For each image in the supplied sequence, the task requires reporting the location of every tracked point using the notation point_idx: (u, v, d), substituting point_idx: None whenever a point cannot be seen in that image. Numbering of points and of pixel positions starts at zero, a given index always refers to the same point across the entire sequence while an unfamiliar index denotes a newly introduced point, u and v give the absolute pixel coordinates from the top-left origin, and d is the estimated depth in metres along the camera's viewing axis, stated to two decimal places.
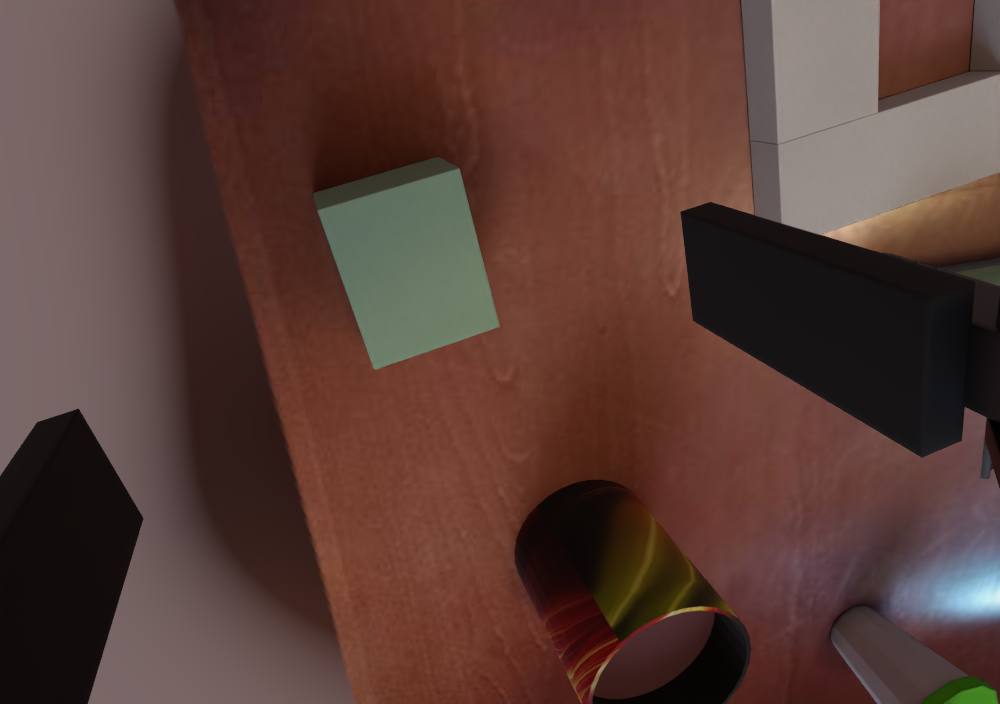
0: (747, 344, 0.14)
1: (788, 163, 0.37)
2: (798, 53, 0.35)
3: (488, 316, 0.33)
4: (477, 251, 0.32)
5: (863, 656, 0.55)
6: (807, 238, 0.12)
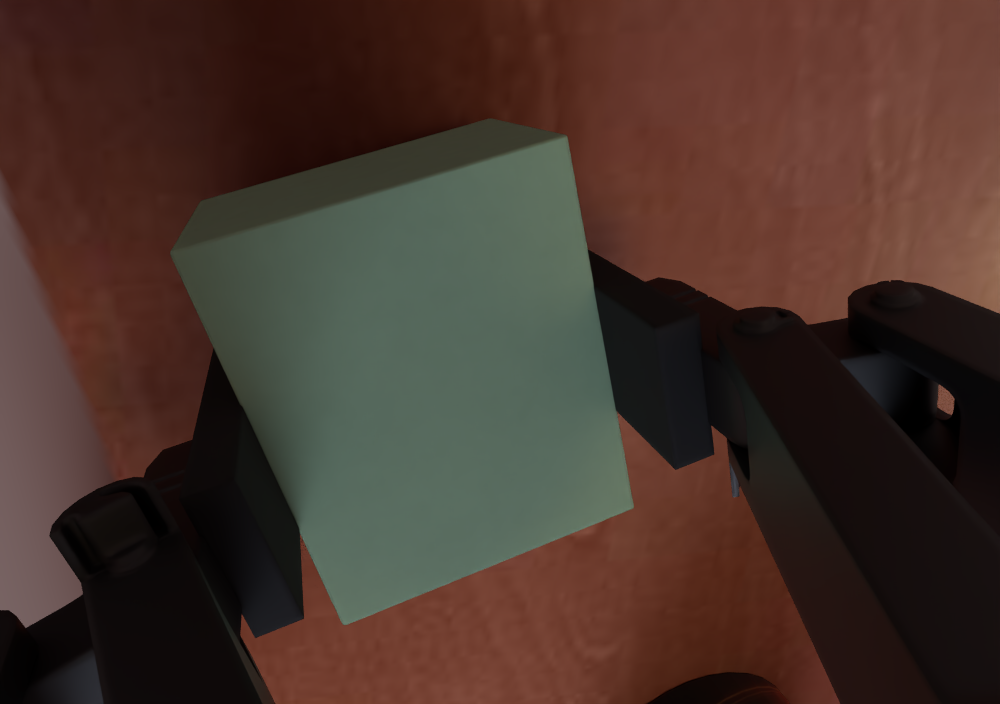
0: None
1: None
2: None
3: (611, 489, 0.14)
4: (598, 346, 0.13)
5: None
6: (601, 266, 0.13)
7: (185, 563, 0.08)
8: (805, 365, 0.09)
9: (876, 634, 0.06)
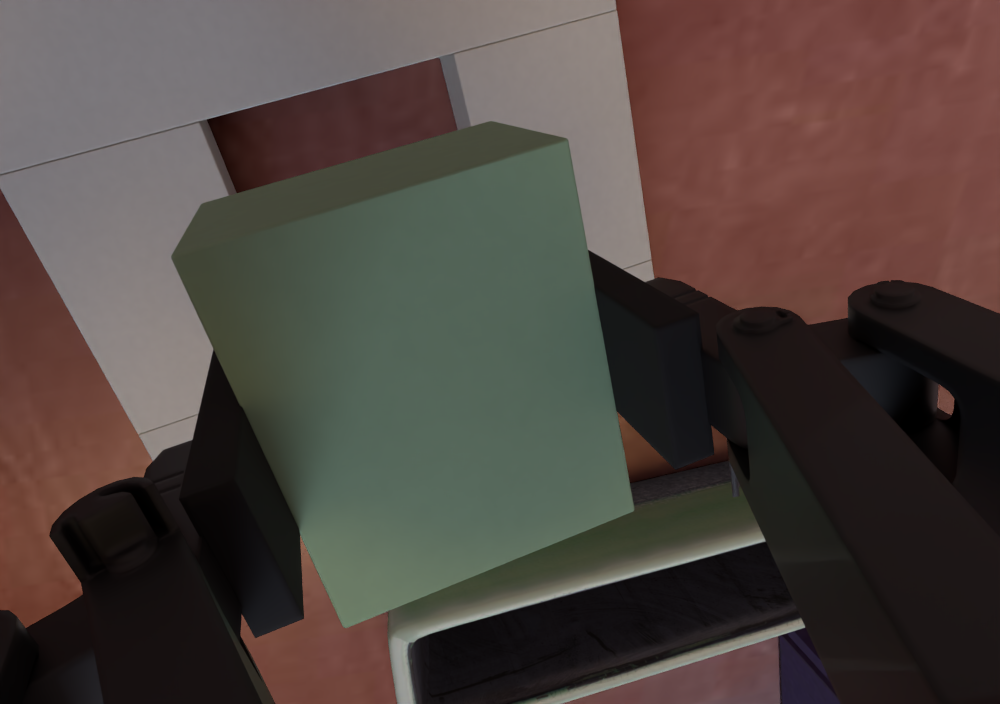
0: None
1: None
2: (125, 322, 0.24)
3: (612, 491, 0.14)
4: (599, 348, 0.13)
5: None
6: (601, 266, 0.13)
7: (185, 563, 0.08)
8: (806, 365, 0.09)
9: (876, 633, 0.06)
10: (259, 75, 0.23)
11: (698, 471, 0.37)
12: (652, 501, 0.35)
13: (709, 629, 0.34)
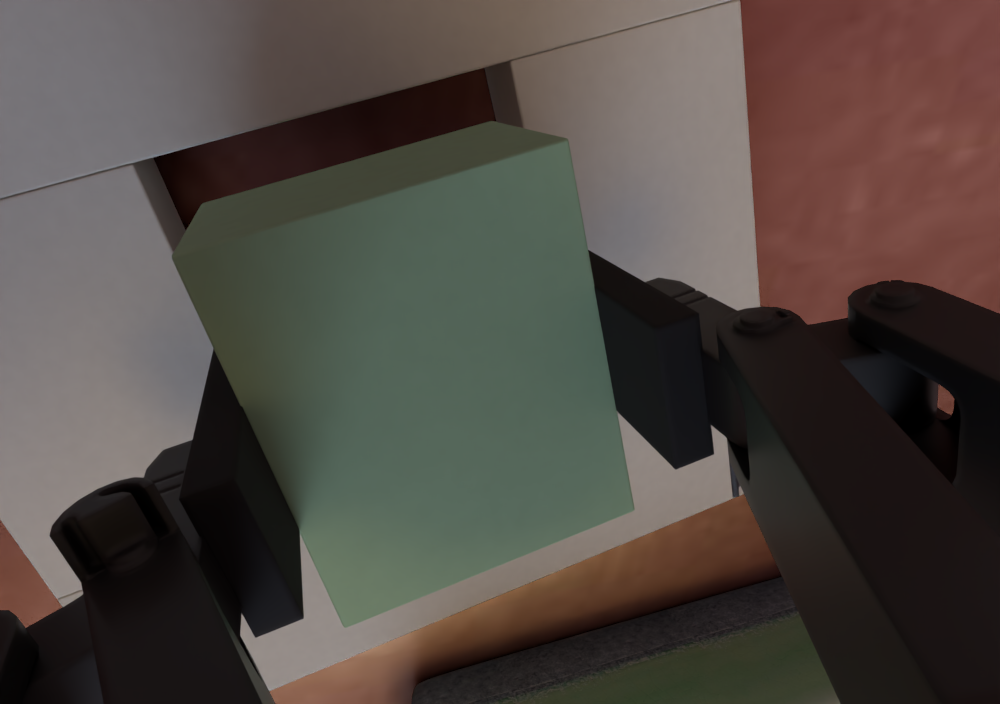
0: None
1: None
2: (30, 451, 0.17)
3: (612, 491, 0.14)
4: (599, 348, 0.13)
5: None
6: (601, 266, 0.13)
7: (185, 563, 0.08)
8: (806, 365, 0.09)
9: (875, 633, 0.06)
10: (223, 93, 0.15)
11: None
12: (742, 631, 0.27)
13: None
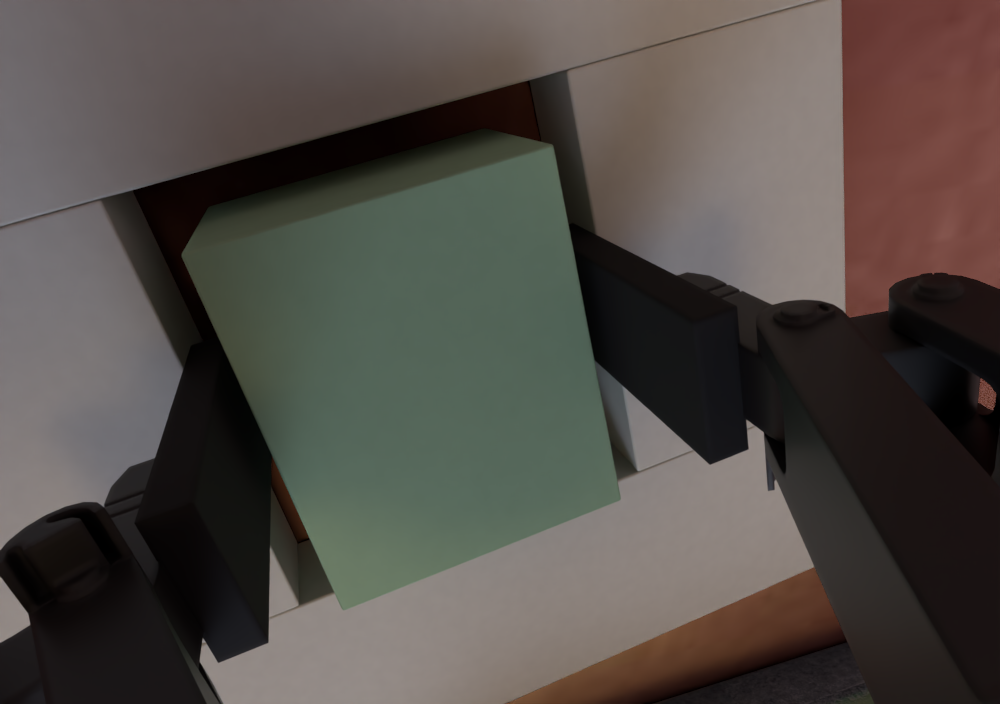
0: (599, 357, 0.15)
1: None
2: None
3: (599, 481, 0.15)
4: (585, 343, 0.14)
5: None
6: (630, 261, 0.13)
7: (139, 589, 0.08)
8: (847, 359, 0.09)
9: (909, 625, 0.06)
10: (214, 112, 0.12)
11: None
12: None
13: None
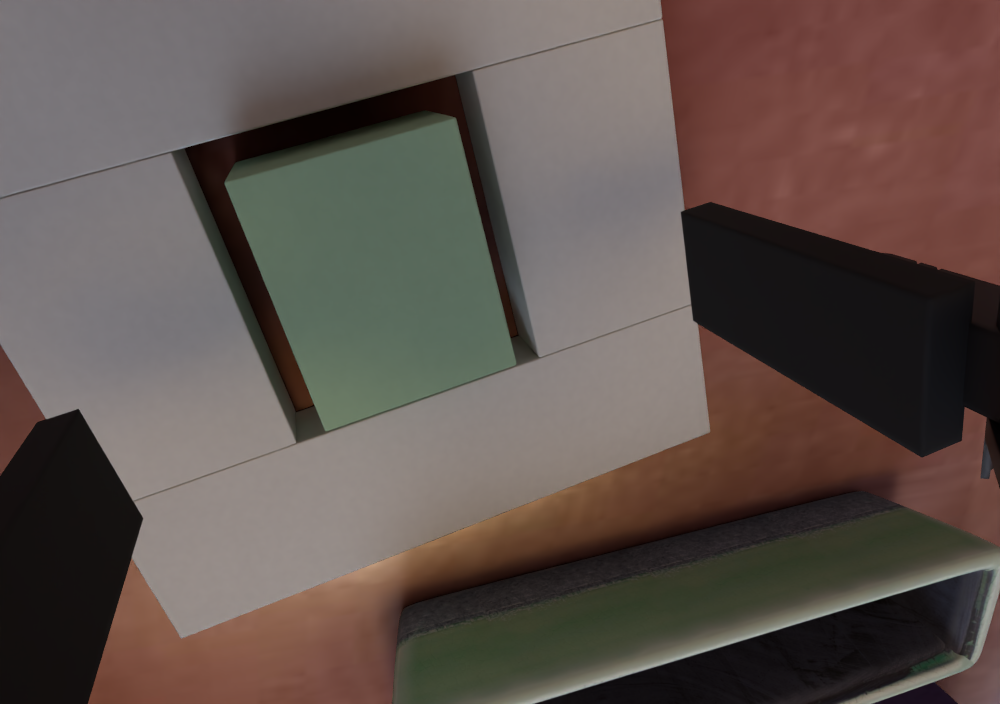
0: (747, 344, 0.14)
1: None
2: (85, 385, 0.21)
3: (500, 349, 0.22)
4: (484, 250, 0.21)
5: None
6: (807, 238, 0.12)
7: None
8: None
9: None
10: (242, 96, 0.19)
11: (738, 525, 0.33)
12: (690, 563, 0.31)
13: None
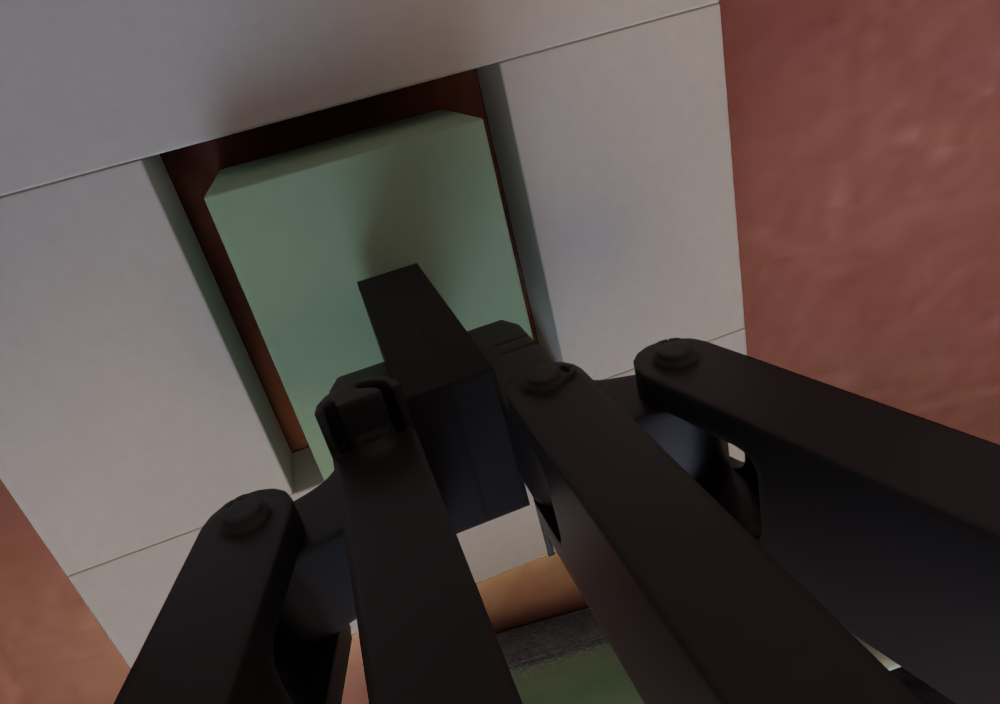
0: None
1: (108, 599, 0.20)
2: (43, 433, 0.17)
3: None
4: (513, 274, 0.18)
5: None
6: (437, 310, 0.13)
7: (418, 460, 0.09)
8: (595, 419, 0.09)
9: None
10: (226, 93, 0.16)
11: None
12: None
13: None
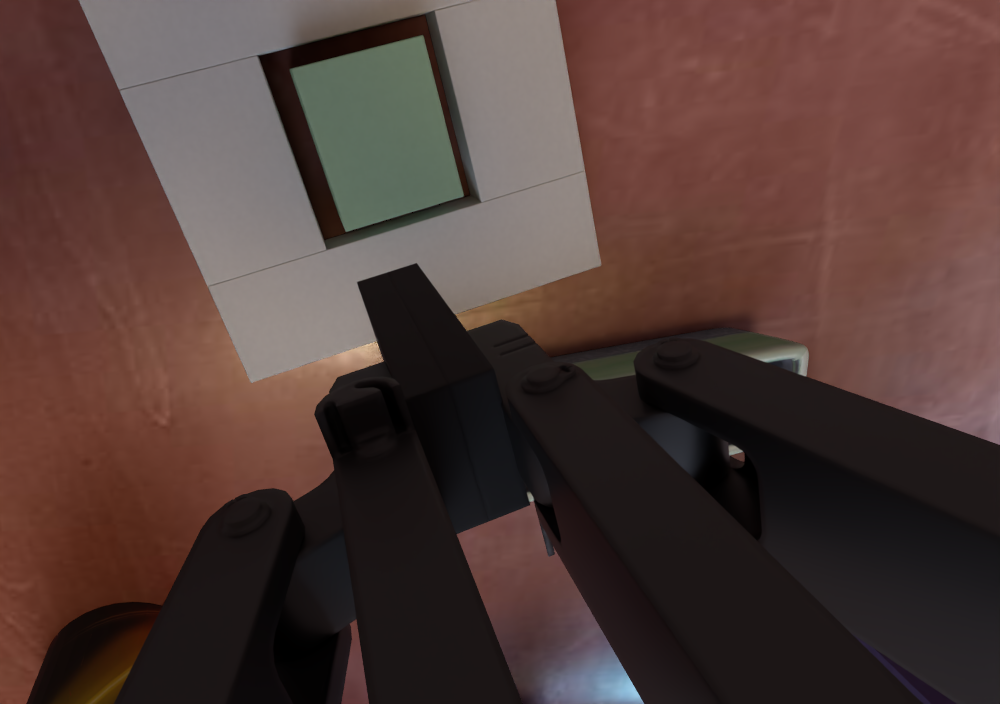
0: None
1: (227, 303, 0.37)
2: (201, 199, 0.34)
3: (453, 184, 0.36)
4: (441, 119, 0.34)
5: None
6: (437, 310, 0.13)
7: (419, 461, 0.09)
8: (594, 420, 0.09)
9: None
10: (299, 23, 0.33)
11: (632, 344, 0.47)
12: (592, 359, 0.44)
13: None
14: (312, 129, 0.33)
